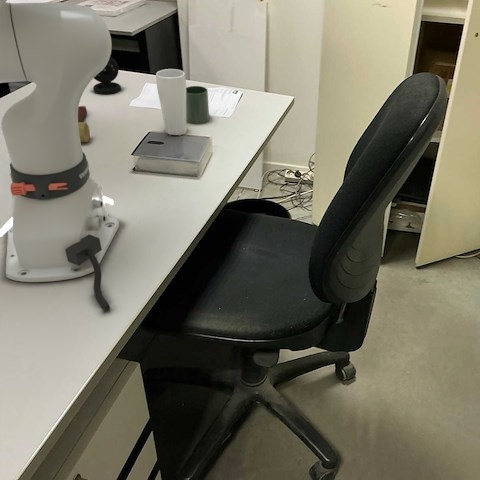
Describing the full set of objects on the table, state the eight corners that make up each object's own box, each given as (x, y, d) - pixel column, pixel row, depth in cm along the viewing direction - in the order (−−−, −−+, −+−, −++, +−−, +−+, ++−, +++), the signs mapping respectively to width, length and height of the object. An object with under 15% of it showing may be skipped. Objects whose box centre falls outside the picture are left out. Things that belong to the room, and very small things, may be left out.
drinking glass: (194, 129, 141) (190, 71, 132) (182, 139, 135) (177, 79, 127) (170, 125, 142) (164, 67, 133) (157, 135, 136) (150, 75, 128)
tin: (209, 123, 144) (207, 94, 140) (186, 124, 143) (183, 94, 139) (208, 114, 149) (207, 85, 144) (186, 115, 148) (183, 86, 143)
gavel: (63, 98, 144) (103, 99, 145) (66, 115, 146) (105, 115, 147) (37, 125, 126) (83, 126, 127) (41, 144, 128) (86, 144, 130)
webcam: (95, 96, 155) (89, 60, 149) (91, 87, 160) (84, 52, 155) (124, 92, 158) (119, 57, 153) (118, 84, 164) (113, 50, 158)
